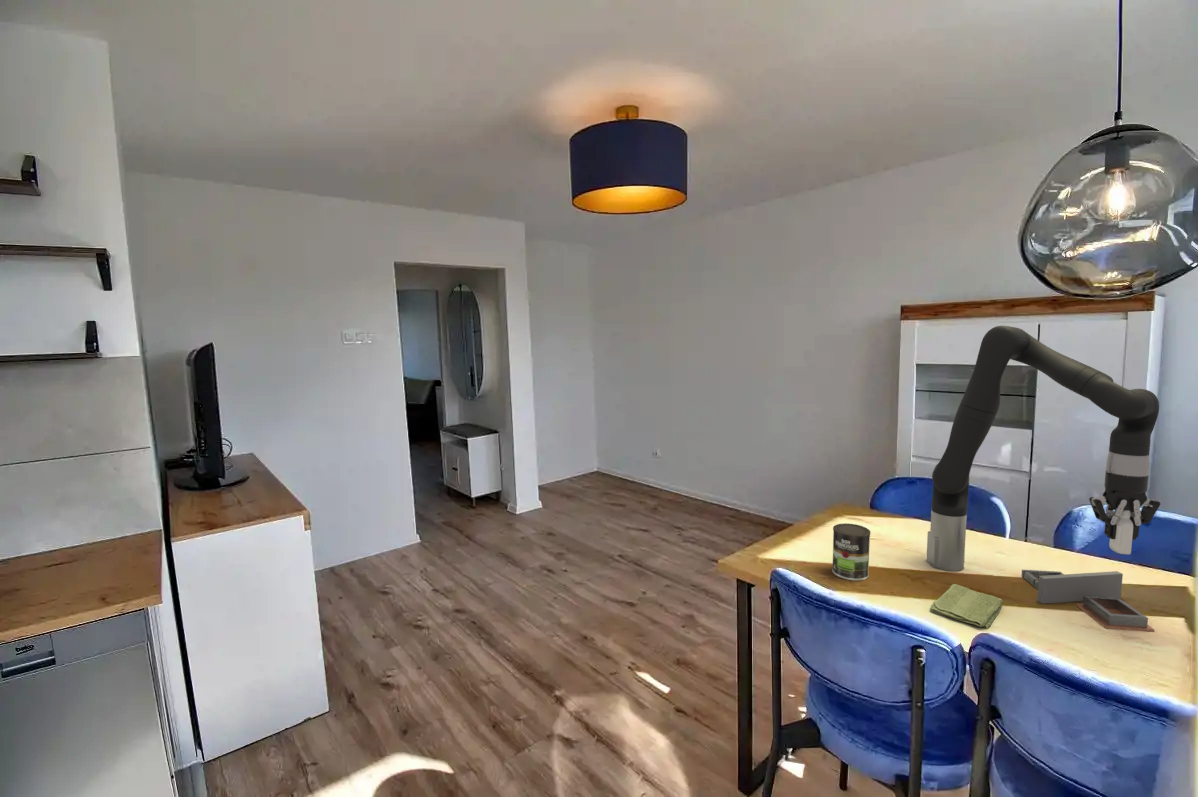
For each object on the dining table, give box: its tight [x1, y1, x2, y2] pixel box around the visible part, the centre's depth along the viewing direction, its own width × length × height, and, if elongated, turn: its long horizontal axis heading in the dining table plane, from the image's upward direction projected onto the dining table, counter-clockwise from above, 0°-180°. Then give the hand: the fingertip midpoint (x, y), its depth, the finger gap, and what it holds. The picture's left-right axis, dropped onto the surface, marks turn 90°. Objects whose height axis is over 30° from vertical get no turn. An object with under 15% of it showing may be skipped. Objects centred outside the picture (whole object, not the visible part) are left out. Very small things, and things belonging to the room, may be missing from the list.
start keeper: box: [1021, 569, 1064, 590], centre depth 154 cm, size 10×8×2 cm
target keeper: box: [1076, 596, 1155, 632], centre depth 135 cm, size 10×11×3 cm
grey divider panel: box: [1037, 570, 1124, 604], centre depth 144 cm, size 22×2×7 cm, turn 93°
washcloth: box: [929, 583, 1003, 630], centre depth 142 cm, size 13×18×3 cm
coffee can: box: [831, 523, 871, 582], centre depth 164 cm, size 10×10×14 cm
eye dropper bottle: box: [1108, 511, 1133, 555], centre depth 133 cm, size 4×6×12 cm
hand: (1120, 538), depth 133 cm, fingers closed on eye dropper bottle, 3 cm apart
